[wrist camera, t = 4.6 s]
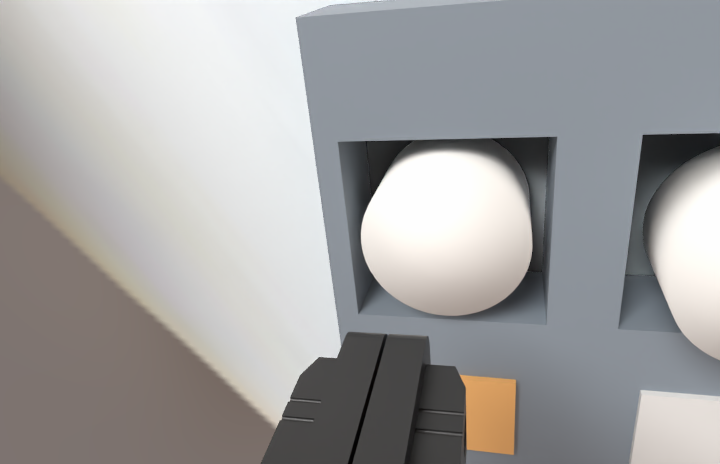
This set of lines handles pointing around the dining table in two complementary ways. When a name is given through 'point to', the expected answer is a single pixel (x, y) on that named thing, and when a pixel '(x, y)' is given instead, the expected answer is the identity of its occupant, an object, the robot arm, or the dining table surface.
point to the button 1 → (450, 226)
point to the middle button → (689, 247)
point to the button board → (562, 207)
